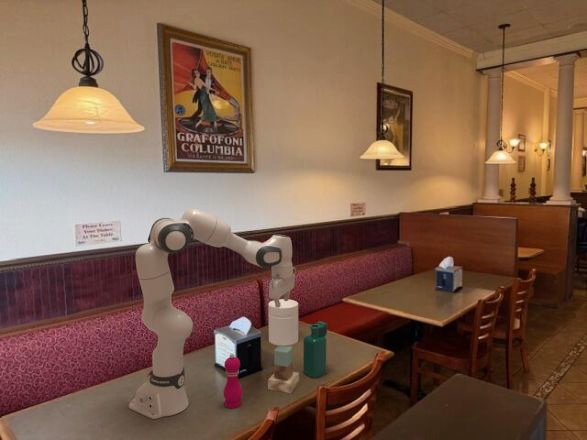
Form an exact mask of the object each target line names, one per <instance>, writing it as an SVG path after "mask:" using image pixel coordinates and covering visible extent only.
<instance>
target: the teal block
mask: <svg viewBox="0 0 587 440" xmlns="http://www.w3.org/2000/svg"><path fill="white" fill-rule="evenodd" d="M292 361H293V362H294V347H293V346H290V345H285V346H283V345H277V347H276V348H275V349H274V350H273V363H274V364H273V366H274V365H280V366H286V367H288V366H289V365H290V364H291V362H292Z"/></svg>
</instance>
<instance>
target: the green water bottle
mask: <svg viewBox="0 0 587 440" xmlns="http://www.w3.org/2000/svg"><path fill="white" fill-rule="evenodd" d="M308 328H309V329H310V333H309V334H306V335H305V336H304V337H303V342H302V343H303V346H302V351H303V361H302V362H303V363H302V364H303V369H302V370H303V373H304V374H305V375H307V376H309V377H311V378H314V379H315V378H316V379H317V378H319V377H321V376H324V375H325V374H327V337H326V336H327V334H328V323H326V322H323V321H317V323H314V324H313V323H312V324H310V325H308Z"/></svg>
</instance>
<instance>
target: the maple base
mask: <svg viewBox="0 0 587 440" xmlns="http://www.w3.org/2000/svg"><path fill="white" fill-rule="evenodd" d="M299 383H300V373H299V372H295V371H293V375H292V376H291V377H290V379H289V380H288V381H286V380H280V379H275V378H274V373H273V374H272V375H271V376H270V377H269V378H268V379H267V389H268V390H271V391H276V392H282V393H286V394H292V392H293V391H294V390H295V388H296V387H297V386H298V384H299Z"/></svg>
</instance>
